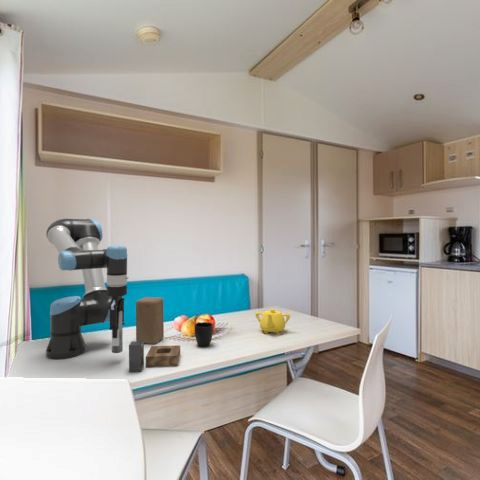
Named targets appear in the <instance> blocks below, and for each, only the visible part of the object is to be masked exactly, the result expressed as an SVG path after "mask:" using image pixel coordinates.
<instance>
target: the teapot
mask: <svg viewBox="0 0 480 480" xmlns="http://www.w3.org/2000/svg"><path fill="white" fill-rule="evenodd" d="M260 315H261V318H260ZM284 316H285V317H286V318H285V317H284ZM255 318H256V319H257V321H258V322H259V327H260V329H261V330H262V332H263V331H264V332H263V334H264V333H265V335H267V334H269V333H274V335H277V336H278V335H281V333H280V332H283V331H284V329H285V328H286V324H287V323H288V322H289V320H290V318H291V314H290V313H282V312H281V311H279V310H276V308H270V309H269V310H266V311H263V312H259V311H257V312H255Z"/></svg>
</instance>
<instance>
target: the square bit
mask: <svg viewBox="0 0 480 480" xmlns="http://www.w3.org/2000/svg"><path fill="white" fill-rule="evenodd" d="M144 345H145V343H144V341H136V340H134V341H131V342H130V343H129V345H128V373H142V372H143V370H144V368H145V352H144V351H145V346H144Z"/></svg>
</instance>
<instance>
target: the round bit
mask: <svg viewBox="0 0 480 480" xmlns="http://www.w3.org/2000/svg"><path fill="white" fill-rule="evenodd" d="M118 328H119V346H112V345H111V353H112V354H119V353H122V352H123V338H124V337H123V325H122V311H120V312H119V326H118Z"/></svg>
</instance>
